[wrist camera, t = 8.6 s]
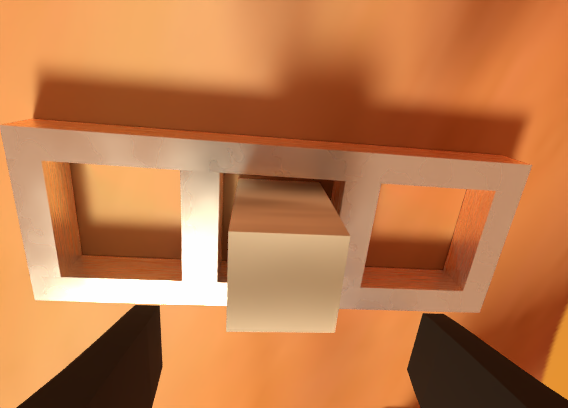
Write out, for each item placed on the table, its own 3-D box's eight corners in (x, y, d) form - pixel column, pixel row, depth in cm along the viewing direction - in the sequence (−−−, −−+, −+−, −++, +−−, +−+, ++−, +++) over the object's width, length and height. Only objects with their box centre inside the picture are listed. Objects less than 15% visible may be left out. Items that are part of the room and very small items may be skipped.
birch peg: (311, 253, 18) (334, 332, 13) (236, 250, 18) (226, 331, 12) (319, 182, 17) (350, 236, 11) (238, 177, 16) (228, 231, 11)
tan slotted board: (458, 290, 20) (479, 312, 18) (58, 276, 17) (34, 300, 16) (501, 155, 17) (532, 165, 15) (32, 118, 15) (-1, 124, 13)
